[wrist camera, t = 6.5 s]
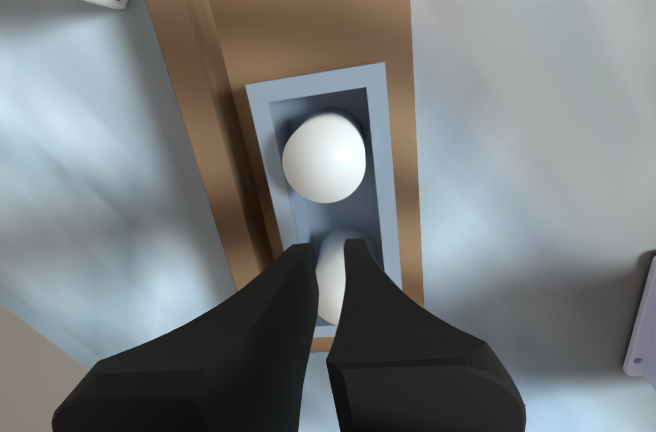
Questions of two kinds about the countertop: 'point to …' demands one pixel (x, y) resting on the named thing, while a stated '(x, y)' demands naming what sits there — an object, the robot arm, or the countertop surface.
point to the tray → (378, 158)
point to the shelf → (273, 63)
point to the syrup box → (110, 3)
